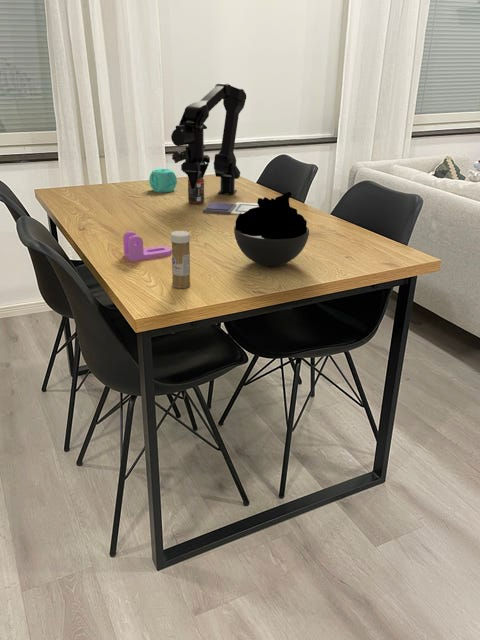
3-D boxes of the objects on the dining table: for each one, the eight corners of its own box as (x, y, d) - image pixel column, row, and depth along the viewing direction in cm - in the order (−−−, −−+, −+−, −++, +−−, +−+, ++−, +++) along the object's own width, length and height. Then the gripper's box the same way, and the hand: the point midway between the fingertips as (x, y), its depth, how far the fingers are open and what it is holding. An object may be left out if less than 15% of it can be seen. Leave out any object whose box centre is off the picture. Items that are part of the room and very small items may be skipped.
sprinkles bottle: (168, 285, 143) (166, 232, 137) (182, 280, 146) (180, 229, 141) (181, 290, 140) (179, 237, 135) (194, 285, 144) (194, 232, 138)
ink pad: (210, 205, 216) (210, 201, 215) (236, 206, 214) (236, 203, 214) (202, 212, 206) (202, 208, 206) (230, 214, 205) (230, 210, 204)
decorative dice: (177, 190, 237) (176, 170, 233) (162, 193, 231) (161, 173, 228) (164, 187, 241) (163, 167, 238) (149, 190, 236) (148, 170, 233)
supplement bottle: (203, 204, 216) (203, 173, 212) (187, 204, 217) (187, 173, 212) (204, 200, 222) (204, 170, 217) (189, 200, 222) (188, 170, 217)
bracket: (131, 262, 159) (129, 237, 156) (124, 256, 163) (122, 231, 160) (175, 255, 164) (174, 231, 161) (167, 249, 169) (166, 226, 166)
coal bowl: (252, 281, 147) (254, 208, 139) (222, 256, 163) (222, 190, 155) (320, 271, 154) (326, 201, 146) (285, 249, 171) (289, 185, 163)
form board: (236, 203, 219) (236, 201, 219) (273, 205, 217) (273, 204, 217) (227, 213, 205) (227, 212, 205) (267, 216, 203) (267, 215, 203)
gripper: (181, 138, 220) (182, 179, 226) (166, 145, 203) (167, 190, 210) (210, 139, 218) (210, 181, 224) (197, 147, 201) (197, 192, 208)
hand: (196, 186), depth 217 cm, fingers open, 9 cm apart
